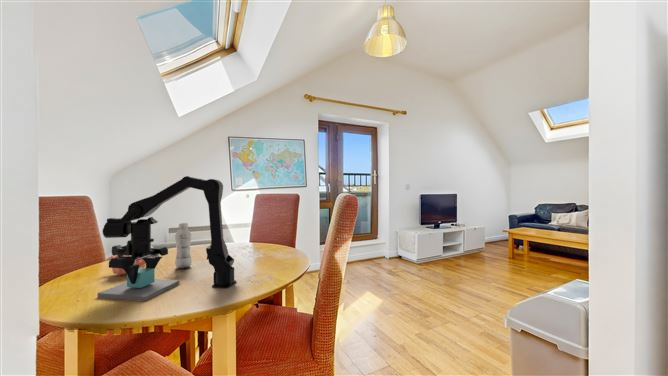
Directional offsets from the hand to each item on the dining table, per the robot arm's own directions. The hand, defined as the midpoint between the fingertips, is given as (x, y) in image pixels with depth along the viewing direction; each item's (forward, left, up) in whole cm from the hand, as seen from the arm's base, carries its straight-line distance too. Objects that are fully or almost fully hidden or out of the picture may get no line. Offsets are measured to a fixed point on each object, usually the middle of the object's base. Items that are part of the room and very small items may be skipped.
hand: (141, 280), depth 94 cm
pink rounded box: (+22, -16, -4) cm, 28 cm away
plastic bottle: (+4, -26, -4) cm, 27 cm away
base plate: (0, 0, -4) cm, 4 cm away
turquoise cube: (0, 0, -1) cm, 1 cm away
